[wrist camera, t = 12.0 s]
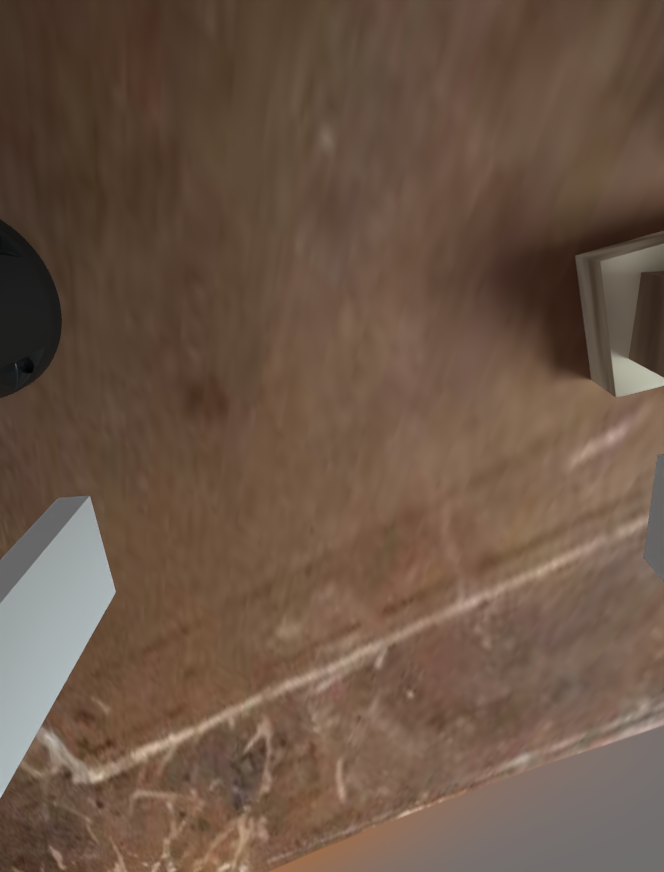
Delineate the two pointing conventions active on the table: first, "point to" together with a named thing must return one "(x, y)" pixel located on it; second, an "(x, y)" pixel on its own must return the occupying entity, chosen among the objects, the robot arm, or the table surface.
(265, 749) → the table surface
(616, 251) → the pale square block
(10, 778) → the robot arm
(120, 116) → the table surface
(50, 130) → the table surface
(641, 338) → the walnut block
